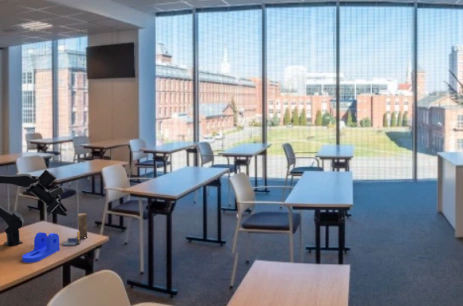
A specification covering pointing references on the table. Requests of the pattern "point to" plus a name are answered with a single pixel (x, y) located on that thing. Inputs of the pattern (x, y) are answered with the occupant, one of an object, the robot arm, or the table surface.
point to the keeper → (72, 241)
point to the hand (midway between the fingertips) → (66, 213)
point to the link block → (82, 225)
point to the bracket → (42, 247)
